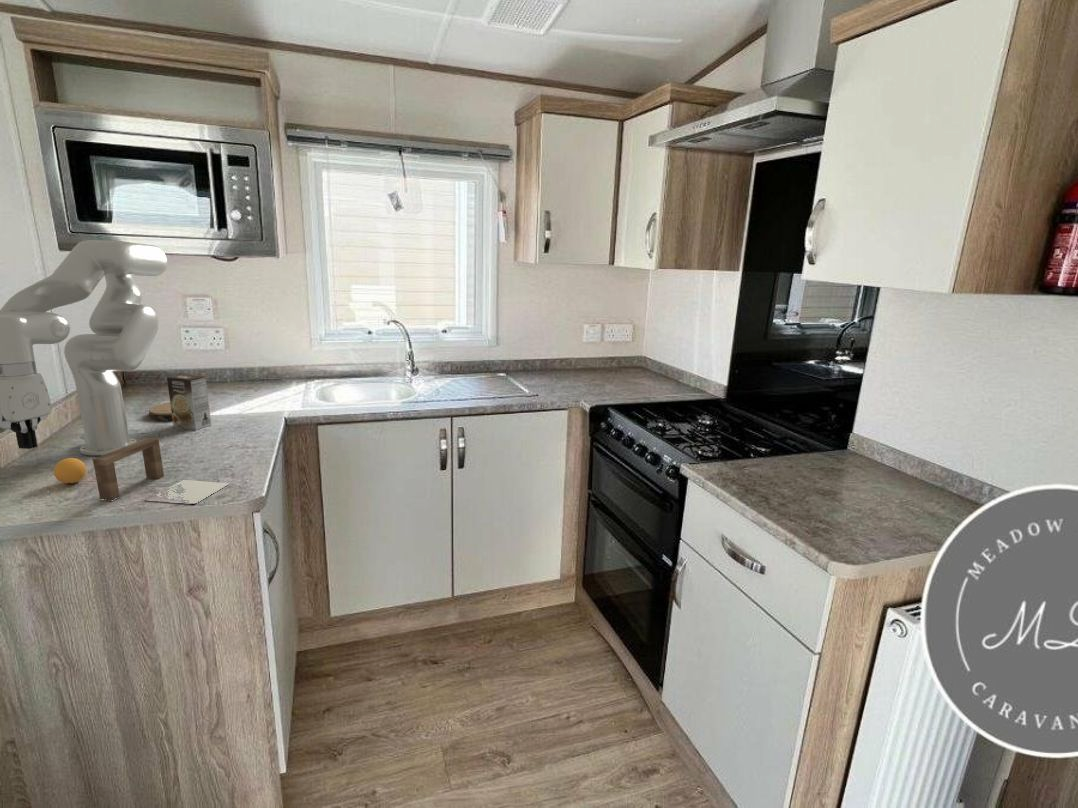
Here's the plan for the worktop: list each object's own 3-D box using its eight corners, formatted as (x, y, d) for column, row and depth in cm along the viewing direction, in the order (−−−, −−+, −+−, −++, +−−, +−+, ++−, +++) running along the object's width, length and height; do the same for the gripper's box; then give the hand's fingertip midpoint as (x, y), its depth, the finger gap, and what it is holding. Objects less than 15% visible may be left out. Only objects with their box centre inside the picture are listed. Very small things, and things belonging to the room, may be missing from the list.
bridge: (100, 500, 127) (92, 459, 124) (153, 475, 141) (147, 437, 138) (112, 501, 126) (105, 460, 124) (164, 476, 141) (158, 438, 138)
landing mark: (144, 501, 127) (144, 500, 127) (183, 480, 138) (183, 479, 138) (194, 505, 125) (194, 504, 125) (229, 484, 137) (229, 483, 137)
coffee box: (172, 427, 178) (164, 376, 174) (189, 421, 184) (182, 372, 180) (196, 430, 175) (189, 379, 171) (212, 424, 181) (206, 375, 177)
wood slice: (177, 424, 182) (175, 415, 181) (137, 419, 186) (136, 410, 185) (216, 411, 197) (215, 403, 196) (179, 407, 201) (178, 399, 200)
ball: (49, 485, 134) (44, 461, 132) (76, 476, 139) (72, 453, 138) (68, 489, 132) (63, 464, 130) (94, 479, 137) (90, 456, 136)
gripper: (-6, 376, 122) (9, 458, 126) (60, 365, 136) (72, 439, 140) (-37, 374, 123) (-21, 456, 127) (32, 364, 137) (44, 437, 141)
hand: (28, 447), depth 134 cm, fingers closed
